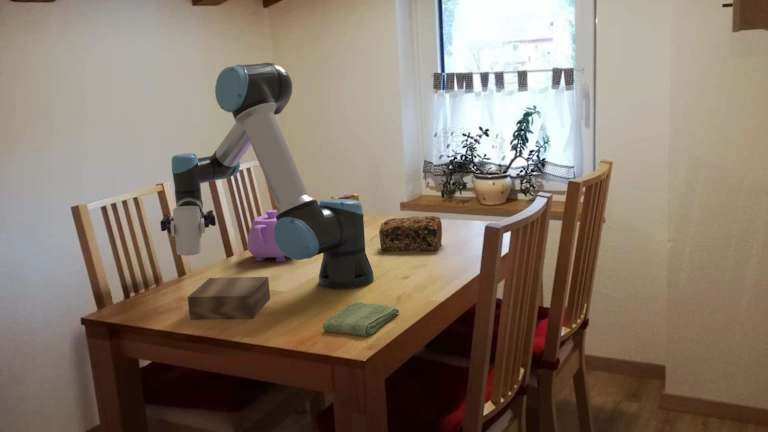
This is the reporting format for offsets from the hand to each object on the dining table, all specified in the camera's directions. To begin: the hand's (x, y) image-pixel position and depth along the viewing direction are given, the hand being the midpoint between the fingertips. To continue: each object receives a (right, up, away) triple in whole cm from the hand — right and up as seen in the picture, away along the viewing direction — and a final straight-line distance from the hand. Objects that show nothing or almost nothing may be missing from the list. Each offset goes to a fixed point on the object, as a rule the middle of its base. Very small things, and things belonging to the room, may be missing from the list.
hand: (187, 229), depth 208 cm
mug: (0, -6, +6) cm, 9 cm away
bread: (+60, -7, +47) cm, 76 cm away
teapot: (+18, -10, +44) cm, 48 cm away
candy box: (+38, -5, +63) cm, 74 cm away
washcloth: (+45, -22, -18) cm, 54 cm away
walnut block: (+12, -20, -3) cm, 24 cm away
